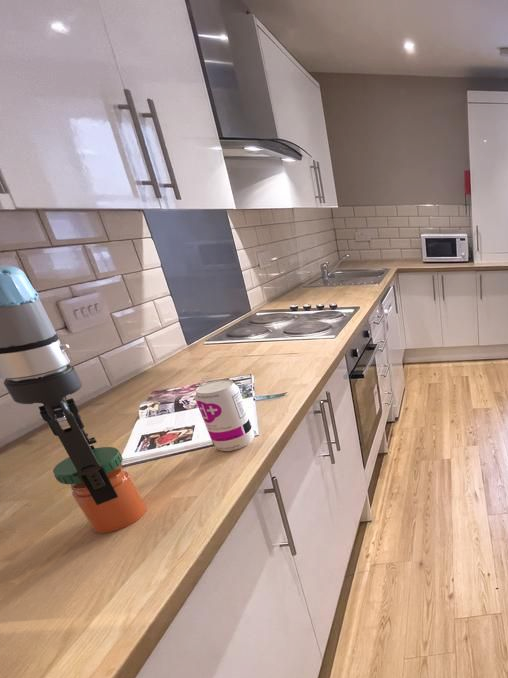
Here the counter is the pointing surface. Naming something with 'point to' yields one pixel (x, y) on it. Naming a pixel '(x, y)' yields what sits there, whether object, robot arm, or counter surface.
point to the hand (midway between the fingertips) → (103, 488)
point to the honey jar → (111, 503)
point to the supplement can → (224, 415)
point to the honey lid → (104, 456)
